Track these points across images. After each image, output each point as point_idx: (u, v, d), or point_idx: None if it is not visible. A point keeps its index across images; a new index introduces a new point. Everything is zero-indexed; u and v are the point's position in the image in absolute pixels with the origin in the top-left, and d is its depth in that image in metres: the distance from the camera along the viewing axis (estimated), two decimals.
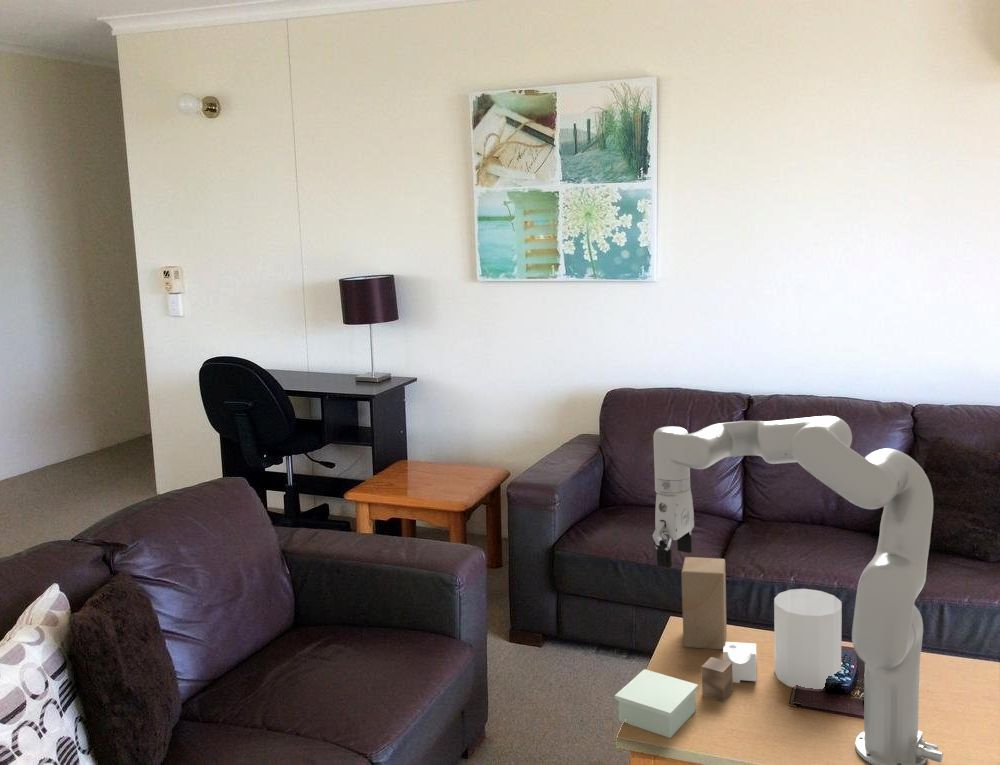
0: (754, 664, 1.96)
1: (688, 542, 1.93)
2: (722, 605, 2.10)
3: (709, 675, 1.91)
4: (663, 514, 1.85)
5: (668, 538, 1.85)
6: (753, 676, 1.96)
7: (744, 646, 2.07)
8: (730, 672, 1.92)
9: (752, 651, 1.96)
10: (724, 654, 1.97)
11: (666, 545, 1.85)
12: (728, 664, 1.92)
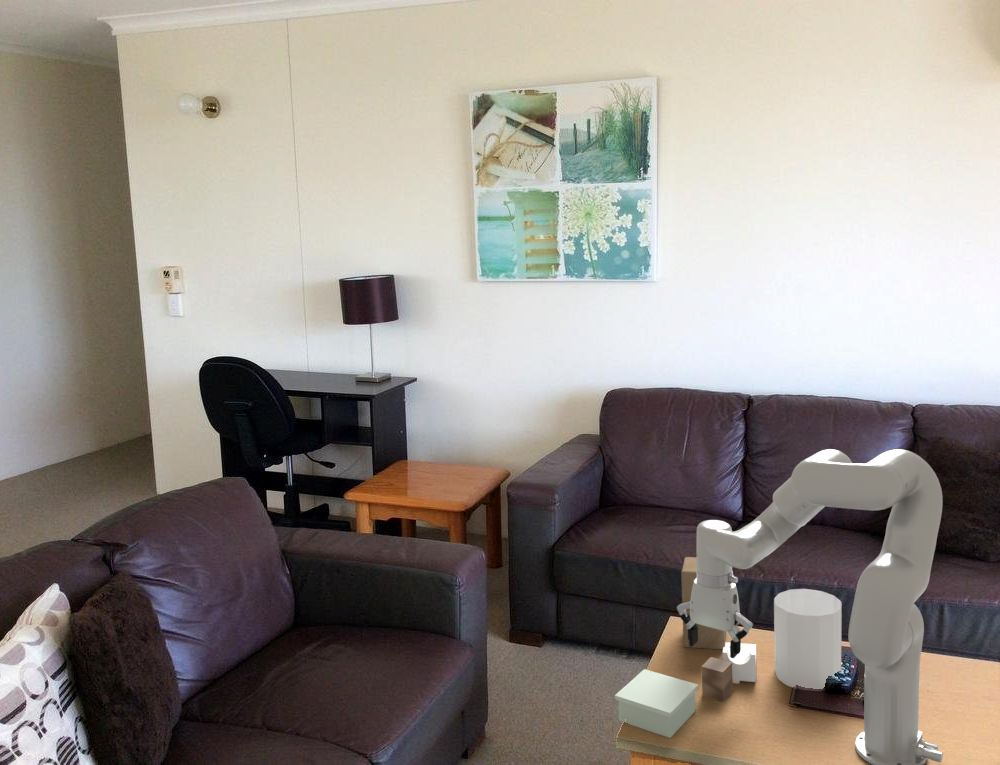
0: (754, 665, 1.95)
1: (697, 631, 1.95)
2: None
3: (709, 675, 1.91)
4: (736, 605, 1.87)
5: (736, 626, 1.89)
6: (753, 677, 1.96)
7: (744, 647, 2.07)
8: (730, 672, 1.92)
9: (752, 652, 1.96)
10: (724, 655, 1.97)
11: None
12: (728, 664, 1.92)
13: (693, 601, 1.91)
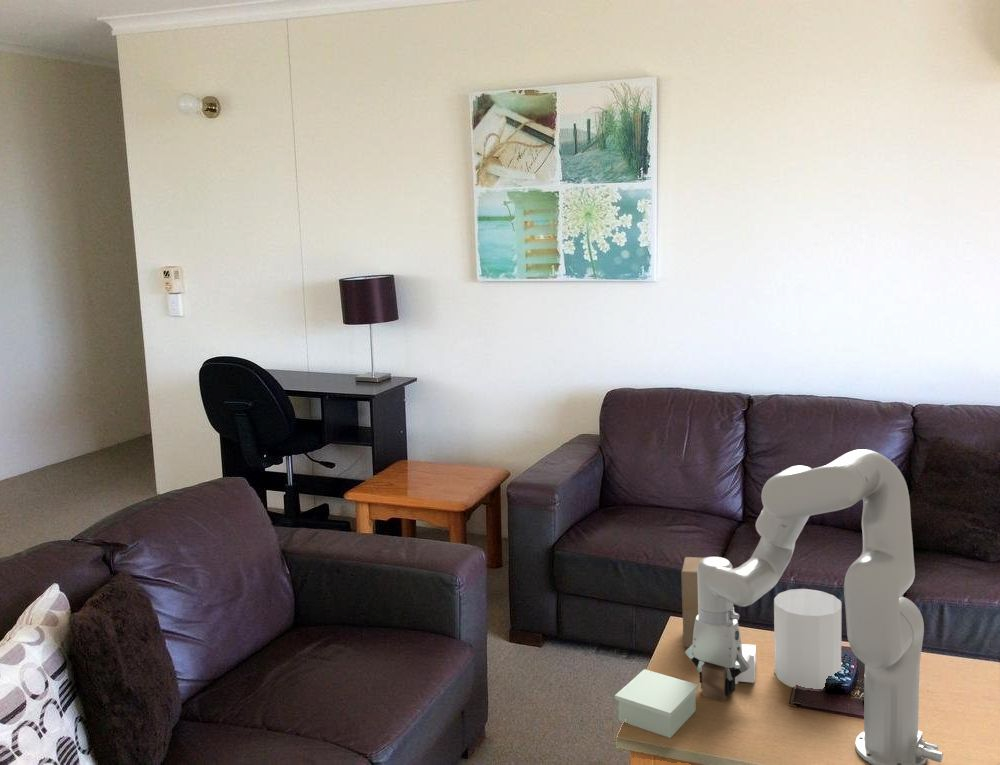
0: (752, 665, 1.95)
1: None
2: None
3: (709, 675, 1.91)
4: (738, 641, 1.88)
5: None
6: (752, 677, 1.96)
7: (743, 647, 2.06)
8: None
9: (751, 652, 1.96)
10: None
11: None
12: None
13: (695, 638, 1.92)
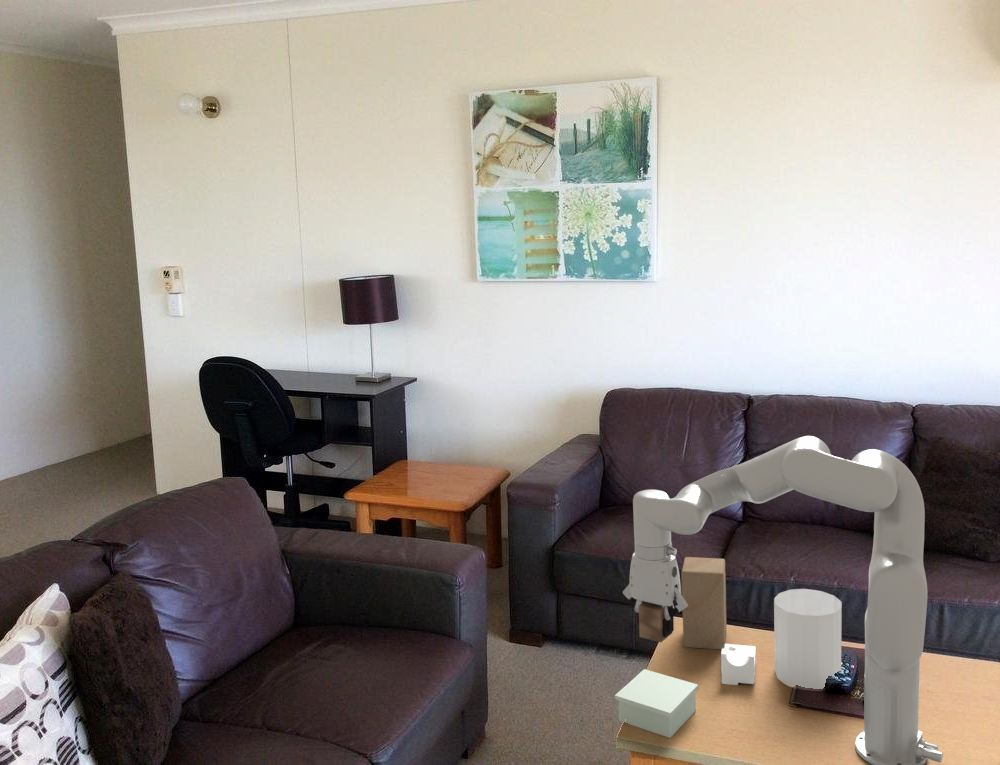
0: (752, 667, 1.94)
1: None
2: (722, 605, 2.10)
3: (646, 614, 1.81)
4: (675, 578, 1.78)
5: (672, 603, 1.80)
6: (751, 679, 1.95)
7: (743, 648, 2.06)
8: None
9: (750, 654, 1.95)
10: (722, 656, 1.96)
11: None
12: None
13: (632, 576, 1.82)
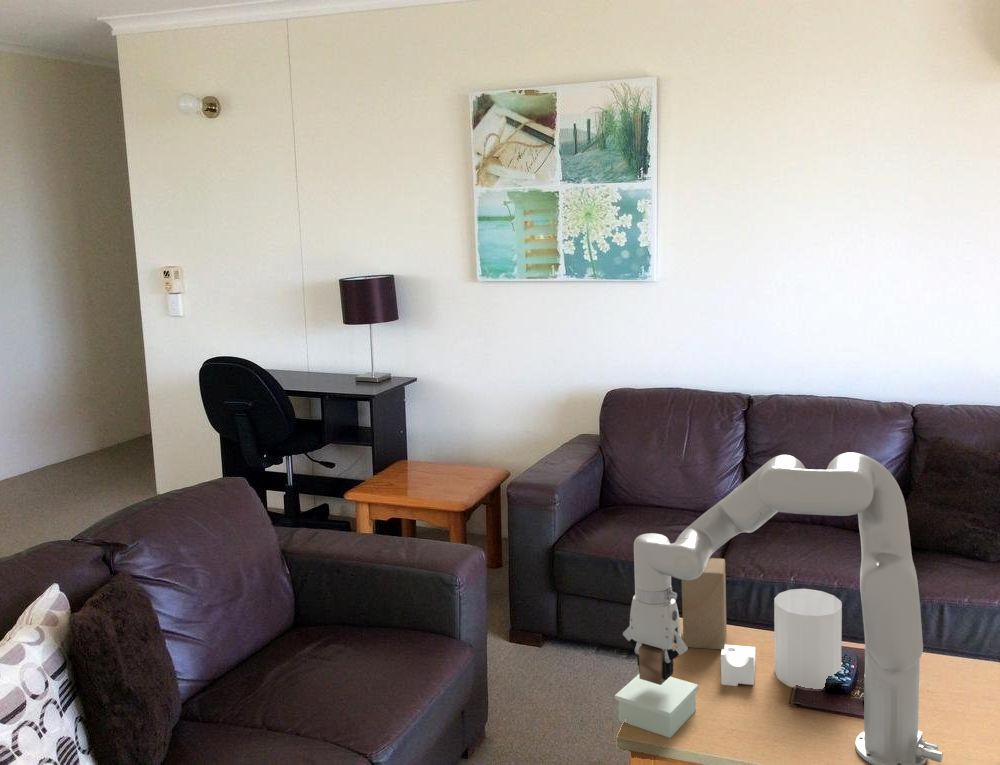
0: (752, 667, 1.94)
1: None
2: (722, 605, 2.10)
3: (646, 657, 1.82)
4: (675, 622, 1.79)
5: None
6: (751, 679, 1.95)
7: (743, 649, 2.06)
8: None
9: (750, 654, 1.95)
10: (722, 657, 1.96)
11: None
12: None
13: (632, 618, 1.83)
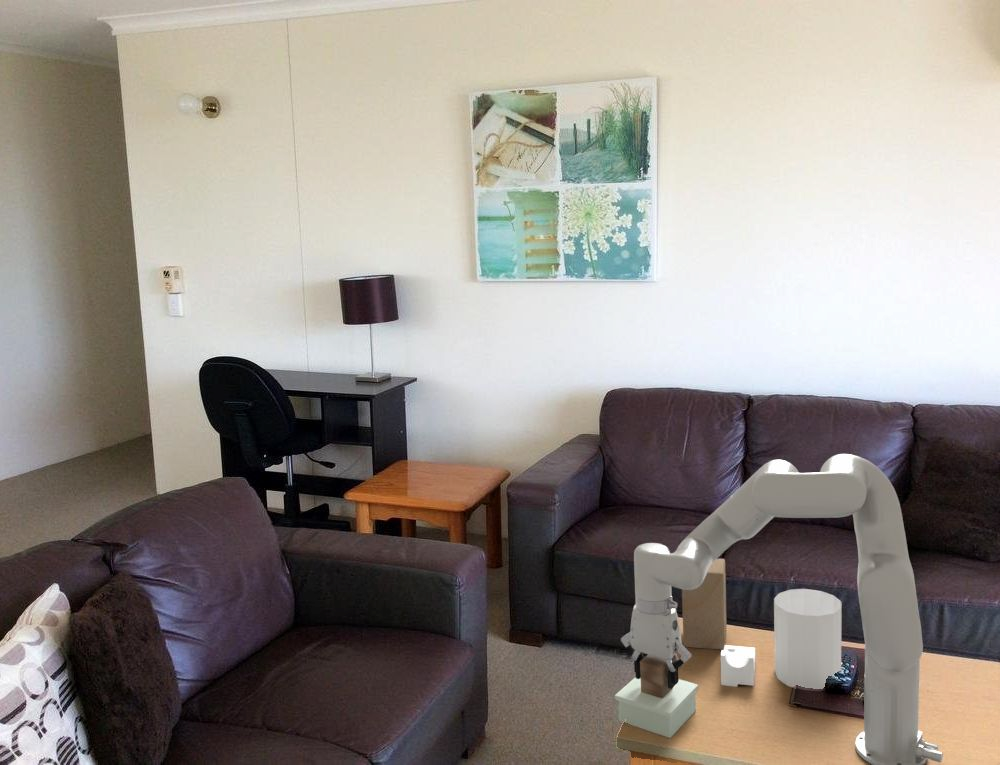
0: (752, 668, 1.94)
1: None
2: (722, 605, 2.10)
3: (648, 670, 1.83)
4: (676, 631, 1.80)
5: (675, 654, 1.82)
6: (751, 680, 1.94)
7: (743, 650, 2.05)
8: None
9: (750, 655, 1.95)
10: (722, 658, 1.96)
11: None
12: None
13: (633, 628, 1.83)
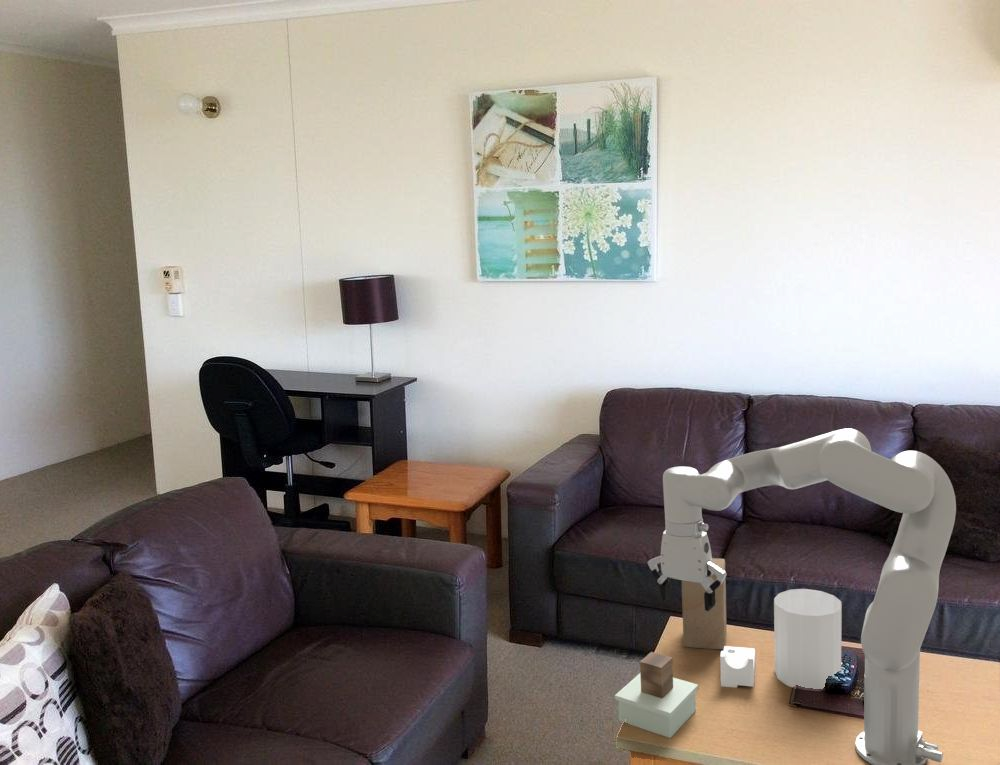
0: (751, 669, 1.93)
1: (670, 587, 1.86)
2: (722, 605, 2.10)
3: (648, 670, 1.83)
4: (708, 554, 1.78)
5: (709, 577, 1.79)
6: (751, 681, 1.94)
7: (742, 651, 2.05)
8: (670, 667, 1.84)
9: (749, 656, 1.94)
10: (721, 659, 1.95)
11: None
12: (668, 659, 1.84)
13: (663, 553, 1.81)
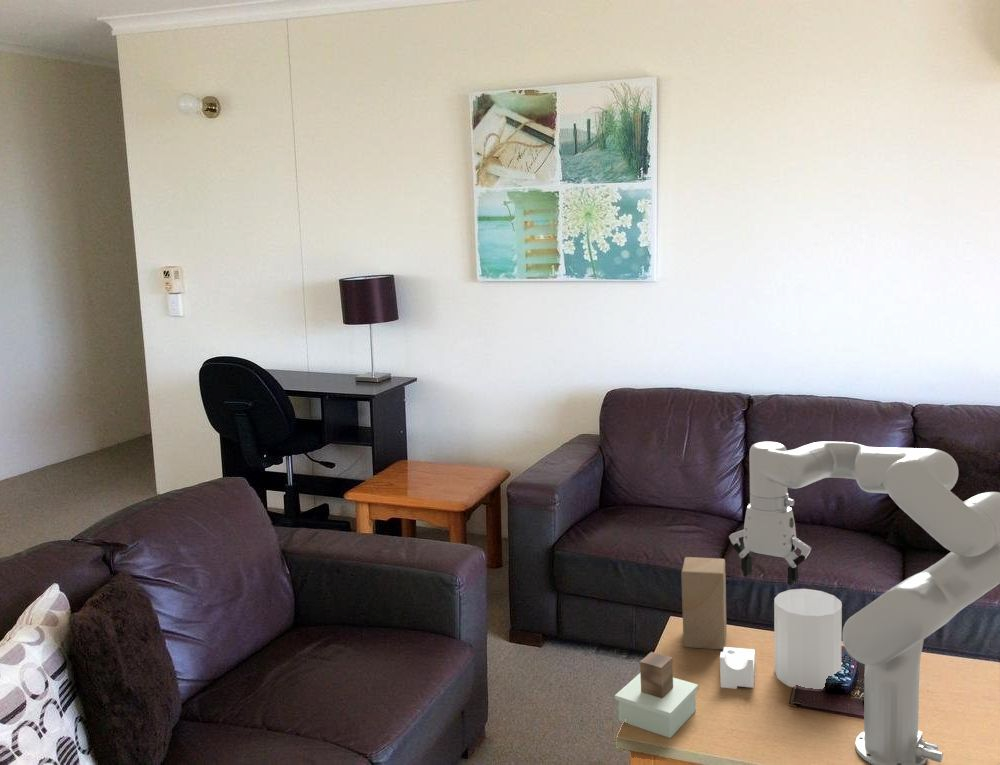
0: (751, 670, 1.93)
1: (751, 561, 1.87)
2: (722, 605, 2.10)
3: (648, 670, 1.83)
4: (792, 529, 1.79)
5: (793, 551, 1.81)
6: (750, 682, 1.94)
7: (742, 651, 2.04)
8: (670, 667, 1.84)
9: (749, 657, 1.94)
10: (721, 660, 1.95)
11: None
12: (668, 659, 1.84)
13: (747, 527, 1.83)
